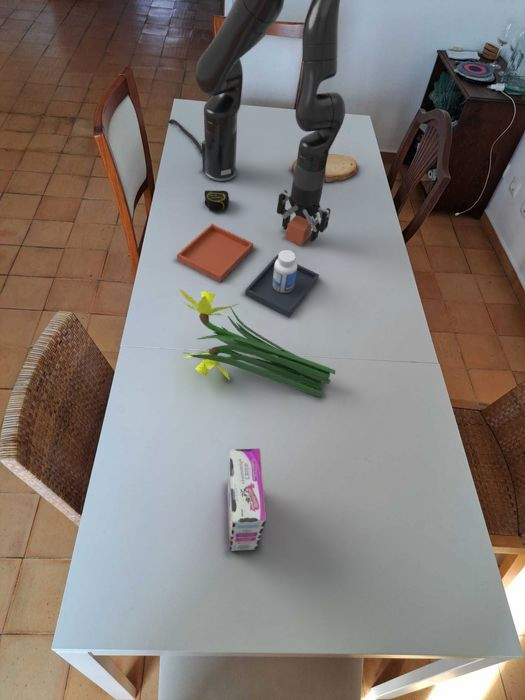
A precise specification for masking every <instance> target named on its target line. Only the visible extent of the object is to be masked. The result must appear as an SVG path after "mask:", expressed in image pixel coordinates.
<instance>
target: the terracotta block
mask: <svg viewBox="0 0 525 700" xmlns="http://www.w3.org/2000/svg"><path fill="white" fill-rule="evenodd" d="M312 230H313V229H312V227H311V225H309V223H308V221H307V219H304V218H302V217H301V216H297V215H294V217H293V218H292V219H290V222H289V223H288V227H287V229H286V233H285V240H288V241H290V242H292V243H294V244H296V245H298V246H301V247H302V246H303V245H304V244H305V243H306V242H307V240H308V239H309V238H310V237H311V232H312Z"/></svg>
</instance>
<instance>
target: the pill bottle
mask: <svg viewBox="0 0 525 700" xmlns="http://www.w3.org/2000/svg"><path fill="white" fill-rule="evenodd" d="M277 255H278V259H277V260H276V261H275V265H274V274H273V287H274V289H275V290H276V291H278V292H281V293H288V292H290V291H291V290H292V289H293V288H294V284H295V278H296V272H297V264H298V262H297V261H296V256H297V255H296V254H295V253H294V251H292V250H289V249H285V250H280V252H278V254H277Z"/></svg>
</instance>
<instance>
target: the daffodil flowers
mask: <svg viewBox="0 0 525 700" xmlns="http://www.w3.org/2000/svg"><path fill="white" fill-rule="evenodd" d="M178 289H179V291H180V293H181V295H182V296H183V298H185V299H186V300H187V301H188V302H190V303H191V304H192V305H191V304H188V303H186V302H184V301H182V303H183V304H184V305H186V306H187V307H188V308H190V309H192V310H193V311H196V312H198V313H199V316H198V317H199V319H200V322H201V323H202V324H203V325H204V326H205V327H206V328H207V329H209V330H211V331H213V334H211V335H206V336H201V337H197V340H207V339H217V340H218V341H221V342H222V343H224V345H217V346H213V347H212V348H208V349H207V351H208V352H202V353H191V352H182V354H184V355H185V354H186V355H185V356H183V358H186V359H187V358H196V359H202V361H201V362H200V363H199V364H198V365H196V367H195V368H194V370H195V371H196V372H198V374H200V375H203V376H204V377H207V375H208V372H209V370H211V369H212V368H213V367H215V366H216V368H217V369H218V370H219V371H220V372H221V374H223V376H225V378H226V379H227V380H229V381H231V379H230V375H229V373H228V371H227V370H225V368H224V367H223V366H222V365H221V363H222V364H226V365H230V366H232V367H236V368H238V369H241V370H244V371H246V372H250V373H252V374H255V375H257V376H260V377H263V378H266V379H269V380H271V381H275V382H277V383H279V384H282V385H285V386H289V387H290V388H294V389H297V390H300V391H302V392H305V393H308V394H310V395H313V396H316V397H318V398H322V397H323V395H324V391H322V390H319V389H321V388H322V385H323V383H324V384H326V385H329V384H330V383H331V379H330V377H331V374H333V375H336V369H333V368H330V367H328V366H325V365H322V364H320V363H317V362H315V361H312V360H310V359H307V358H304V357H300V356H298V354H297V355H296V354H295V353H292V352H291V351H289V350H287V349H285V348H283V347H281V346H280V345H278V344H276V343H274V342H272V341H271V340H269V339H267V338H266V337H264V336H262V335H261V334H259V333H257V332H256V331H254V330H253V329H252V328H250V327H249V326H247V325H246V324H244V322H243V321H242V320H241V319H240V318H239V316H238V315H237V314H236V313H235V311H234V310H233V307H236V306H239V305H240V303H235V304H233V305H228V306H219V307H217V306H216V307H212V304H213V302H214V299H215V297H216V294H215V293H214V292H211V291H210V292H209V291H201V292H200V293H201V294H200V295H201V298H200V301H199V302H198V301H196V300H195V299H194V298H192V297H191V296H190V295H189V294H188V293H186V291H184V290H183V289H181V288H180V287H178ZM227 309H230V310H231V313H232V314H233V315H234V317H235V319H236V320H237V322H234V320H233V319H232V318H231V317H230V315H229V314H223V316H224V317H227V318H228V320H229V322H230V323H231V325H232V326H233V327H234V328H235V329H236V330H237V331H238V332H239V334H241V335H239V334H236V333H235V332H231V331H229V330H228V329H227V328H225V327H223V326H221V327H219V326H217V325H215V324H213V323H211V322H210V317H209V316H222V314H221V313H216V312H218V311H219V312H220V311H222V310H227ZM242 353H243V354H242ZM219 354H225V355H228V356H223V355H219ZM245 354H247V355H245ZM249 355H250V356H249ZM253 356H254V357H253Z"/></svg>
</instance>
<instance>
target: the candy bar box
mask: <svg viewBox="0 0 525 700" xmlns="http://www.w3.org/2000/svg"><path fill="white" fill-rule="evenodd" d="M228 458H229V459H228V472H227V486H226V489H227V490H226V491H227V493H226V495H227V524H228V547H229V551H230V552H238V551H239V552H240V551H254V550H255V551H256V550H258V547H259V544H260V540H261V537H262V534H263V531H264V529H265V525H266V522H267V512H266V504H265V493H264V482H263V481H264V480H263V469H262V457H261V448H258V447H257V448H232V449H229V457H228Z"/></svg>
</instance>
